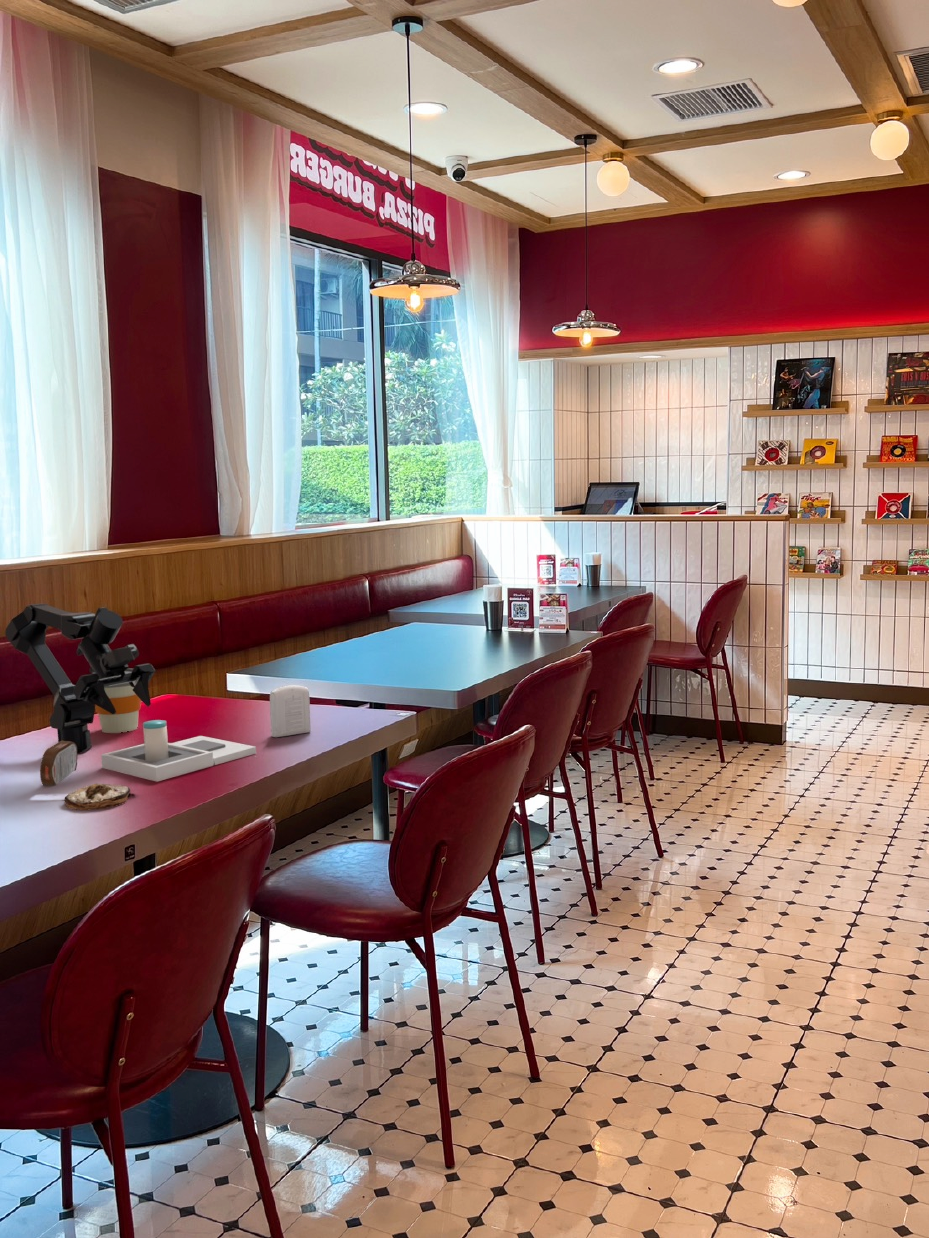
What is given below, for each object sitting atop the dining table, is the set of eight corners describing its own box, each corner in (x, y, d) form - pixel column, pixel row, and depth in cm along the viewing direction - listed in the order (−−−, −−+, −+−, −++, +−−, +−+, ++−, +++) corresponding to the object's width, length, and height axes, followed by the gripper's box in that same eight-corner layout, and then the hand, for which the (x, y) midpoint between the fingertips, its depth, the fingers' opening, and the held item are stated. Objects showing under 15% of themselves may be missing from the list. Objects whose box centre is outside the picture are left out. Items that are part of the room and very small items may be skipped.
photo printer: (306, 729, 282) (304, 681, 280) (313, 732, 278) (311, 684, 277) (268, 735, 276) (266, 687, 275) (275, 738, 273) (273, 689, 271)
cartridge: (142, 769, 244) (139, 725, 242) (150, 763, 249) (147, 720, 247) (165, 769, 244) (162, 725, 242) (172, 763, 248) (169, 719, 247)
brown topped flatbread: (100, 789, 235) (98, 770, 234) (151, 797, 228) (150, 778, 227) (43, 808, 222) (41, 788, 222) (96, 818, 215) (94, 797, 214)
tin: (67, 772, 247) (64, 736, 246) (81, 772, 247) (78, 735, 246) (39, 792, 232) (36, 753, 231) (54, 792, 232) (51, 753, 231)
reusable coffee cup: (144, 732, 284) (140, 674, 282) (92, 736, 281) (88, 678, 279) (145, 721, 296) (141, 666, 294) (96, 725, 293) (92, 670, 291)
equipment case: (102, 771, 247) (101, 754, 246) (201, 745, 268) (200, 729, 267) (157, 785, 234) (156, 767, 234) (256, 757, 256) (255, 740, 255)
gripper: (76, 640, 243) (109, 694, 238) (147, 629, 258) (180, 680, 252) (59, 672, 249) (91, 725, 244) (130, 659, 264) (161, 710, 258)
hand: (132, 709), depth 249 cm, fingers open, 9 cm apart
